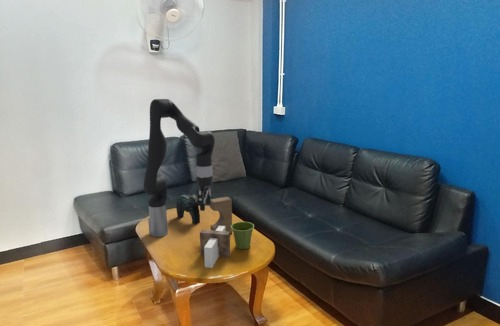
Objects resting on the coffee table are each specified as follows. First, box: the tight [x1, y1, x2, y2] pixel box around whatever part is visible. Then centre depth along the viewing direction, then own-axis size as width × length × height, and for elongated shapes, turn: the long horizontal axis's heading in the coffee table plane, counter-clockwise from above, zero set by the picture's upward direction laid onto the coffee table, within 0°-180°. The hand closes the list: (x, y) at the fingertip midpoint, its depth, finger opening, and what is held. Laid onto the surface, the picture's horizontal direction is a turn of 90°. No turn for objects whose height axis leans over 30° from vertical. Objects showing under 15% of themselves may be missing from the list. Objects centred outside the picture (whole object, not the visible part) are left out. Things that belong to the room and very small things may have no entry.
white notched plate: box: [203, 226, 226, 269], centre depth 168 cm, size 4×24×10 cm, turn 169°
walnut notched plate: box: [199, 229, 231, 259], centre depth 168 cm, size 14×4×12 cm, turn 79°
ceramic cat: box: [175, 189, 201, 225], centre depth 208 cm, size 20×6×20 cm, turn 49°
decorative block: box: [209, 196, 233, 234], centre depth 190 cm, size 11×6×20 cm, turn 116°
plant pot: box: [231, 221, 255, 250], centre depth 176 cm, size 12×12×11 cm
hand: (205, 207), depth 164 cm, fingers open, 8 cm apart
